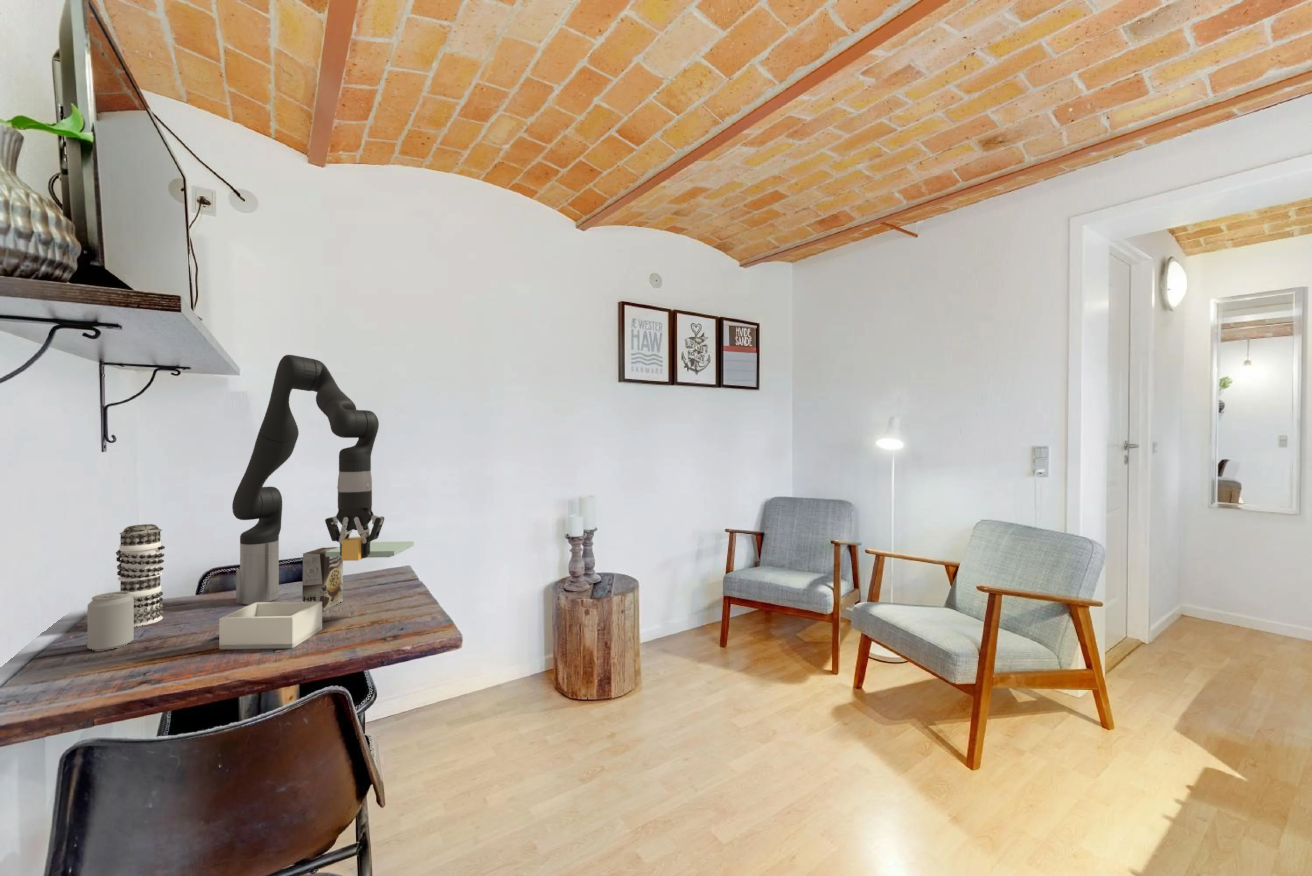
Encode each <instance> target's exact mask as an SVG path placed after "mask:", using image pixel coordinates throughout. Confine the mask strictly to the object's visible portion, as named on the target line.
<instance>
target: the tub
mask: <svg viewBox="0 0 1312 876" xmlns="http://www.w3.org/2000/svg"><path fill="white" fill-rule="evenodd" d="M218 623H219V627H218V628H219V629H218V630H219V632H218V635H219V639H218V640H219V645H218V646H219V650H255V649H256V650H257V649H258V650H259V649H260V650H261V649H262V650H263V649H264V650H265V649H266V650H267V649H294V648H295V647H297V646H298V645H300V644H302V643H303V642H304V641H306V640H308V639H309V638H311V637H312V636H313V635H316V634H317V633H319V632H321V630H323V611H322V602H302V601H269V602H255V603H253V604H248V605H246V606H245V607H242V608H240V609H238V610H235V611H234V612H231V613H229V614H226V615H224V616H222V617H220V618H219V622H218Z"/></svg>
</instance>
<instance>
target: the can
mask: <svg viewBox="0 0 1312 876" xmlns="http://www.w3.org/2000/svg"><path fill="white" fill-rule="evenodd" d="M119 591H120V590H119ZM119 591H111V592H105V593H101V594H96V595H94V596H92V597H91V601H89V603H88V604H87V618H86V619H87V620H86V621H87V624H86V625H87V641H86V643H87V649H89V650H91V649H92V651H93V650H107V649H112V648H117V647H121V646H124V647H126V646H128V645H129V644H130V643H131V642H132V641H133V640H134V638H135V636H134V635H135V634H134V633H135V632H134V630H135V627H134V598H133V597H131V596H130V595H129V594H130V592H127V591H120V592H119ZM128 643H129V644H128ZM127 644H128V645H127ZM125 645H126V646H125ZM121 648H122V647H121Z"/></svg>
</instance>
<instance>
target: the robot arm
mask: <svg viewBox="0 0 1312 876" xmlns="http://www.w3.org/2000/svg"><path fill="white" fill-rule="evenodd" d="M293 390H298V391H299V390H300V391H304V392H305V391H306V392H315V393H316V395H315V402H316V406H317V407H318V408H319V410H320V411H321V412H322V413H323V414H324V415H325V416H326V417H327V420H328V422H329V425H330V430H331V432H332V434H334V435H335V436H337V437H339V438H343V439H345V438H346V439H348V438H349V439H357V438H358V439H357V442H356V443H355V445H353V446H349V447H345V448H341V449H340V451H339V453H338V478H337V487H336V488H337V509H338V511H337V513H336V515H335V516H331V517H327V518H325V519H324V522H325V525H326V528H327V531H328V533H329V537H330V539H331V541H332V542H337V543H339V547H340V555H341V556H342V540H344V539H347V538H350V536H351V534H352V533H353V531H357V534H358V535H359V537H360V538H361V541H362V544H361V558H363V559H366V557H368V555H369V554H370V542H373V541H375V540H377V539H378V538H379V536H380V533H381V530H382V528H383V524H384V521H385V517H384V516H383V515H382V516H378V515H375V514H374V512H373V510H372V507H373V478H372V462H371V461H372V458H371V456H372V452H373V449H374V443H375V441H376V437H377V435H378V431H379V427H380V425H379V424H380V423H379V418H378V416H377V415H376V413H375V412H373V411H371V410H367V409H366V410H363V409H357V407H356V404H355V403H354V401H353V400H352V399H351V398H350V397H349V396H347V395H346V394H345V392H343V391H342V390H341V388H340V387H339V386H338V384H337V382H336V381H335V379H334V376H333V375H332V373H331V372H330V371H329V369H328V368H327V366H326V365H325V363H324V362H322V361H320V360H318V359H315V358H310V357H305V356H300V355H295V354H294V355H293V354H286V355H284V356H282V357H281V359H280V361H279V362H278V365H277V368H276V372H275V375H274V380H273V385H272V389H271V393H270V396H269V397H270V398H269V401H268V406H267V408H266V412H265V415H264V416H263V417H264V418H263V420H262V422H261V426H260V427H259V430H258V433H257V436H256V439H255V442H254V446H253V450H252V453H251V457H250V459H249V462H248V465H247V467H246V469H245V472H244V474H243V476H242V478H241V480H240V483H239V484H238V487H237V489H236V491H235V493H234V496H233V500H232V513H233V515H234V517H235V518H236V519H238V520H240V521H250V520H251V521H252V520H258V522H257V523H256V524H255V525H254V526H252V527H251V528H250V529H247V530H246V531H243V532H242V533H241V534H240V536H239V568H238V569H237V570H236V573H235V576H236V579H235V583H236V585H235V586H236V587H235V588H236V590H235V592H236V594H235V598H236V599H235V600H236V601H235V602H236V604H241V605H251V604H253V603H255V602H273V601H275V600H277V599H278V598H279V591H280V590H279V586H280V582H279V578H280V576H279V575H280V574H279V572H280V569H279V567H280V565H279V563H280V561H279V558H280V554H279V553H280V550H279V548H280V547H279V546H280V545H279V544H280V541H279V539H280V532H281V530H282V518H283V517H282V515H283V496H282V494H281V491H280V490H279V489H278V488H277V487H275V486H264V484H265V483H266V481H267V480H268V478H269V477H270V476H271V475H272V474H273V473H275V472H276V471H277V470H278V469H279V468H280V467H281V466H282V465H284V463H286V462H287V461H288V459H290V457H291V456H292V454H293V452H294V450H295V448H296V444H297V441H298V438H299V435H300V434H299V428H298V425H297V422H296V420H295V417H294V415H293V413H292V410H291V407H290V395H291V392H292V391H293ZM370 522H372V525H373V526H372V529H371V530H370V526H369V524H370ZM339 523H340V525H341V529H340V528H339V526H338V524H339Z"/></svg>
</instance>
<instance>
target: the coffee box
mask: <svg viewBox="0 0 1312 876" xmlns="http://www.w3.org/2000/svg"><path fill="white" fill-rule="evenodd" d="M337 547H338V546H337ZM337 547H336V546H331V547H330V546H329V547H319V548H316V549H314V550H310V551H307V552H303V553H302V597H301V598H302V599H301V600H302V601H301V602H322V612H325V611H327V610H330V609H332V608H333V607H335V606H337V605H339V604H341V603H343V602H342V601H343V598H344V592H343V591H344V589H343V588H344V587H343V585H344V584H343V583H344V581H343V580H344V576H343V574H344V570H343V569H344V561H342V558H338V557H326V552H327V551H329V550H332V549H335V548H337ZM340 602H341V603H340ZM336 604H337V605H336Z"/></svg>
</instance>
